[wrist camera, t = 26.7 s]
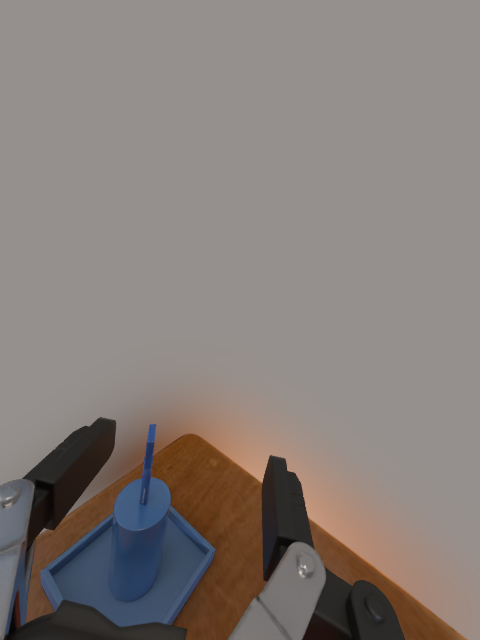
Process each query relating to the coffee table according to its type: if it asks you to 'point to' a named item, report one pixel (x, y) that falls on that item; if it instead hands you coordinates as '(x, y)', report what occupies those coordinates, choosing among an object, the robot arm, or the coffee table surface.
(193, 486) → the coffee table surface
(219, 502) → the coffee table surface
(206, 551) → the blue tray
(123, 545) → the blue pot
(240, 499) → the coffee table surface
